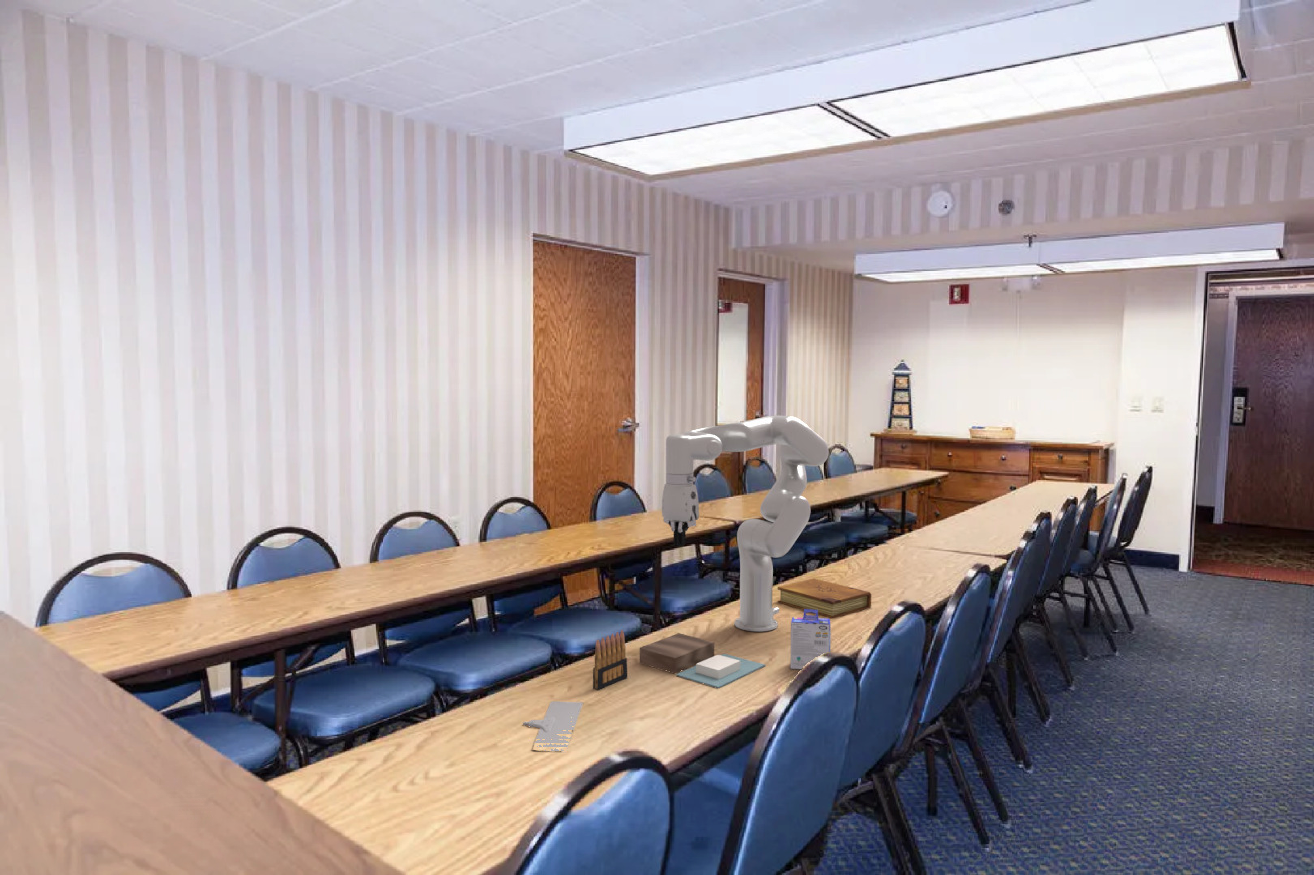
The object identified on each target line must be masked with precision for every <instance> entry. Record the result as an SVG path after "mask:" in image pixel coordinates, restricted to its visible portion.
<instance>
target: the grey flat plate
mask: <svg viewBox="0 0 1314 875" xmlns="http://www.w3.org/2000/svg"><path fill="white" fill-rule="evenodd" d="M583 704H584V702H579V701H557V700H554V701H551V702H549V706H548V708H547V710H546V713H545V715H544V718H543V719H530V720H529V721H523V722H522V726H523V725H528V726H530V727H529V728H531V727H536V728H535V729H539V728H540V729H539V730H538V732H537V735H536V737H535V740H536V739H540V740H537V741H535V740H534V743H550V744H549V745H547V744H546V745H543V747H567V748H568V746H569V744H570V741H569V742H568V741H566V740H564V739H570V740H571V738H572V736H571V737H570V738H568V737H566V736H562V737H561V736H559V735H557V734H572V735H573V733H574V730H575V727H576V725H577V721H578V718H579V715H580V712H581V710H582V707H583ZM571 717H572V718H571ZM571 721H572V722H571ZM528 726H527V727H528ZM572 726H574V727H572ZM563 730H566V731H563ZM568 730H573V732H572V733H571V732H569V731H568ZM538 734H539V735H538ZM542 739H545V740H542ZM551 739H552V740H551ZM559 739H563V740H559ZM534 743H533V744H534ZM551 743H569V744H568V745H566V744H564V745H561V744H560V745H556V744H554V745H552V744H551ZM537 747H538V746H537ZM539 747H542V746H541V745H539ZM545 751H546V750H545ZM551 751H559V750H558V749H556V748H555V749H554V750H553V749H551ZM561 751H564V750H562V749H561Z"/></svg>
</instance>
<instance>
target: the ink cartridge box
mask: <svg viewBox="0 0 1314 875" xmlns="http://www.w3.org/2000/svg"><path fill="white" fill-rule="evenodd" d="M808 613H813V614H815V615H811V614H809V615H808ZM831 634H832V633H831V619H830V618H822V617H821V618H819V614H818V610H811V609H804V610H803V617H795V616H793V617H791V621H790V667H789V668H790V669H792V670H793V669H794V670H803V669H802V668H803V666H805V665H806V664H807V663H808V662H810V661H811V660H813V659H814V658H815V657H818V656H820V655H821V654H823V653H827V652H830V653H831V643H832V642H831V640H832V639H831Z"/></svg>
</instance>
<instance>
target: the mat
mask: <svg viewBox="0 0 1314 875" xmlns="http://www.w3.org/2000/svg"><path fill="white" fill-rule="evenodd" d="M720 655H721V656H725V657H729V658H732V659H736V660H739V661H740V670H738V671H736V672H733V673H731V674H729V675H727V676H725V677H722V678H720V679H716V678H713V677H710V676H706V675H703V674H700V673H696V665H695V666H692V667H690V668H688V669H685V670H683V671H681V672H678V673H676V674H675V676H676V675H677V676H676V677H678V676H680V677H679V678H682V677H683V678H682V679H685V680H688V679H690V680H689V681H692V680H693V681H692V682H695V683H698V684H701V683H704V684H703V685H705V684H706V686H708V685H709V686H708V687H712V688H715V687H716V689H718V688H719V689H720V687H721V688H723V687H725V686H727V685H730V684H731V683H733V682H735V681H738V680H739V679H743V678H744V677H746V676H748V675H751V673H754V672H757V671H758V670H760V669H762V668H764V667H766V664H765V663H761V662H756V661H755V660H749V659H745V658H742V657H738V656H735V655H731V654H727V653H722V654H720Z"/></svg>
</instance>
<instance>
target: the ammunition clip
mask: <svg viewBox="0 0 1314 875" xmlns="http://www.w3.org/2000/svg"><path fill="white" fill-rule="evenodd" d="M595 642H596V643H595V650H594V651H595V652H594V667H593V669H592V689H593V690H595V691H601V690H603V689H606V688H607V687H610V686H612V685H615V684H616V683H619V682H621V681H624V680H626V679H628V658H627V657H626V642H625V634H624V630H623V629H621V631H620V634H619V632H618V631H617V632H616V633H615V635H614V633H612V634H611V635H610V636H609V635H607V636H606V639H605V638H604V637H602V638H601V640H599V639H596V641H595Z"/></svg>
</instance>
